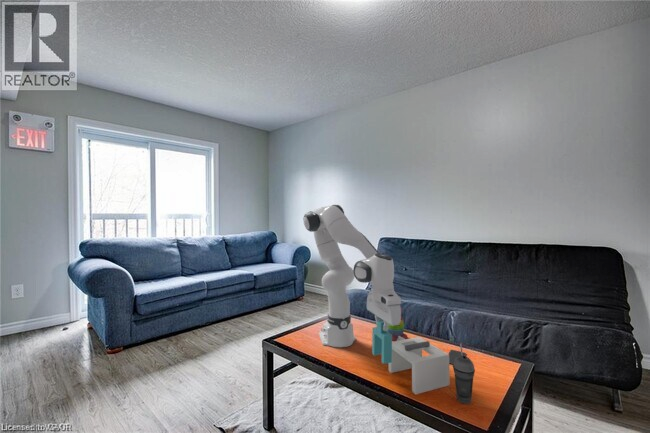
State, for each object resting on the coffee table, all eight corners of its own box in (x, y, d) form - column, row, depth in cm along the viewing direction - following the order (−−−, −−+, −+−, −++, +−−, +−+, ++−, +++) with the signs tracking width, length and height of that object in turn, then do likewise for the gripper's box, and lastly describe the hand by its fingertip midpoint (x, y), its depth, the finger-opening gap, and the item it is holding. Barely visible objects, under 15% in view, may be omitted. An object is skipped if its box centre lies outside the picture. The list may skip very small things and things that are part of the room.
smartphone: (467, 352, 140) (461, 365, 128) (467, 354, 140) (461, 367, 128) (450, 349, 145) (443, 361, 132) (450, 351, 145) (443, 363, 132)
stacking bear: (408, 337, 160) (408, 304, 160) (401, 344, 152) (401, 309, 151) (389, 332, 166) (389, 301, 166) (382, 339, 158) (382, 305, 158)
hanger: (372, 353, 123) (372, 318, 123) (379, 352, 124) (380, 317, 124) (383, 364, 115) (384, 325, 114) (391, 362, 116) (392, 324, 116)
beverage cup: (465, 408, 101) (464, 350, 101) (448, 396, 107) (447, 342, 107) (480, 403, 104) (479, 346, 104) (462, 391, 110) (462, 338, 110)
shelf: (388, 370, 126) (388, 338, 126) (419, 363, 131) (418, 332, 131) (415, 394, 109) (415, 356, 109) (449, 385, 115) (449, 349, 115)
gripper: (363, 288, 127) (362, 320, 128) (389, 302, 108) (389, 339, 109) (375, 287, 130) (375, 318, 130) (404, 300, 111) (403, 337, 111)
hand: (381, 328), depth 119 cm, fingers closed on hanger, 3 cm apart
